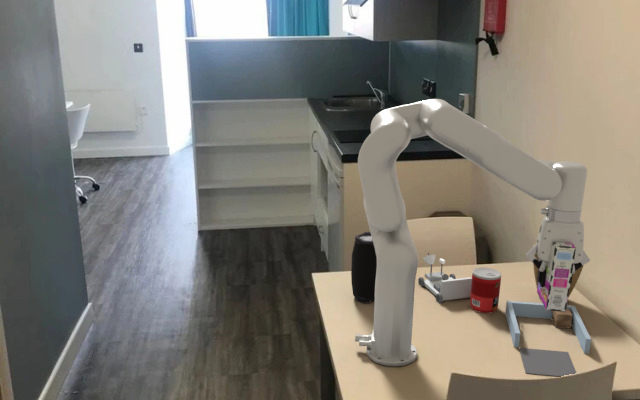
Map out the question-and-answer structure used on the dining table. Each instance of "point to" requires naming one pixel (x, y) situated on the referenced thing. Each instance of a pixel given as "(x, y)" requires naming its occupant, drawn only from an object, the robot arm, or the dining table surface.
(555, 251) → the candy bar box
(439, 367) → the dining table surface
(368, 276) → the portable speaker
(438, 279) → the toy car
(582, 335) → the blue u-shaped frame
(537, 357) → the mat
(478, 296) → the canned food
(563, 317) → the walnut block
